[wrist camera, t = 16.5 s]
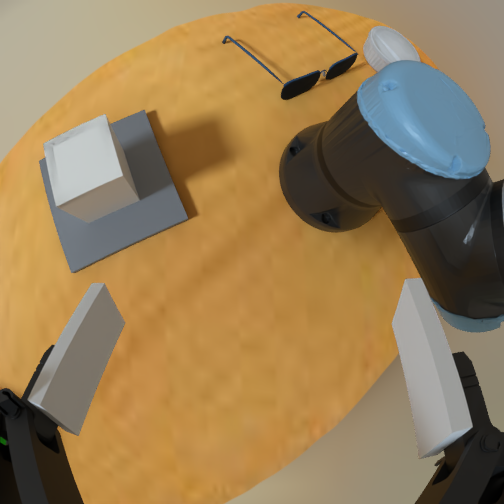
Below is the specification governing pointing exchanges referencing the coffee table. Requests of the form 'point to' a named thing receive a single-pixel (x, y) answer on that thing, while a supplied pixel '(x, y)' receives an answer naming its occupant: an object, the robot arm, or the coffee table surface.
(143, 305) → the coffee table surface
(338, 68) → the sunglasses
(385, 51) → the ramekin
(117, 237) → the post dock
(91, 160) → the white rectangular box
